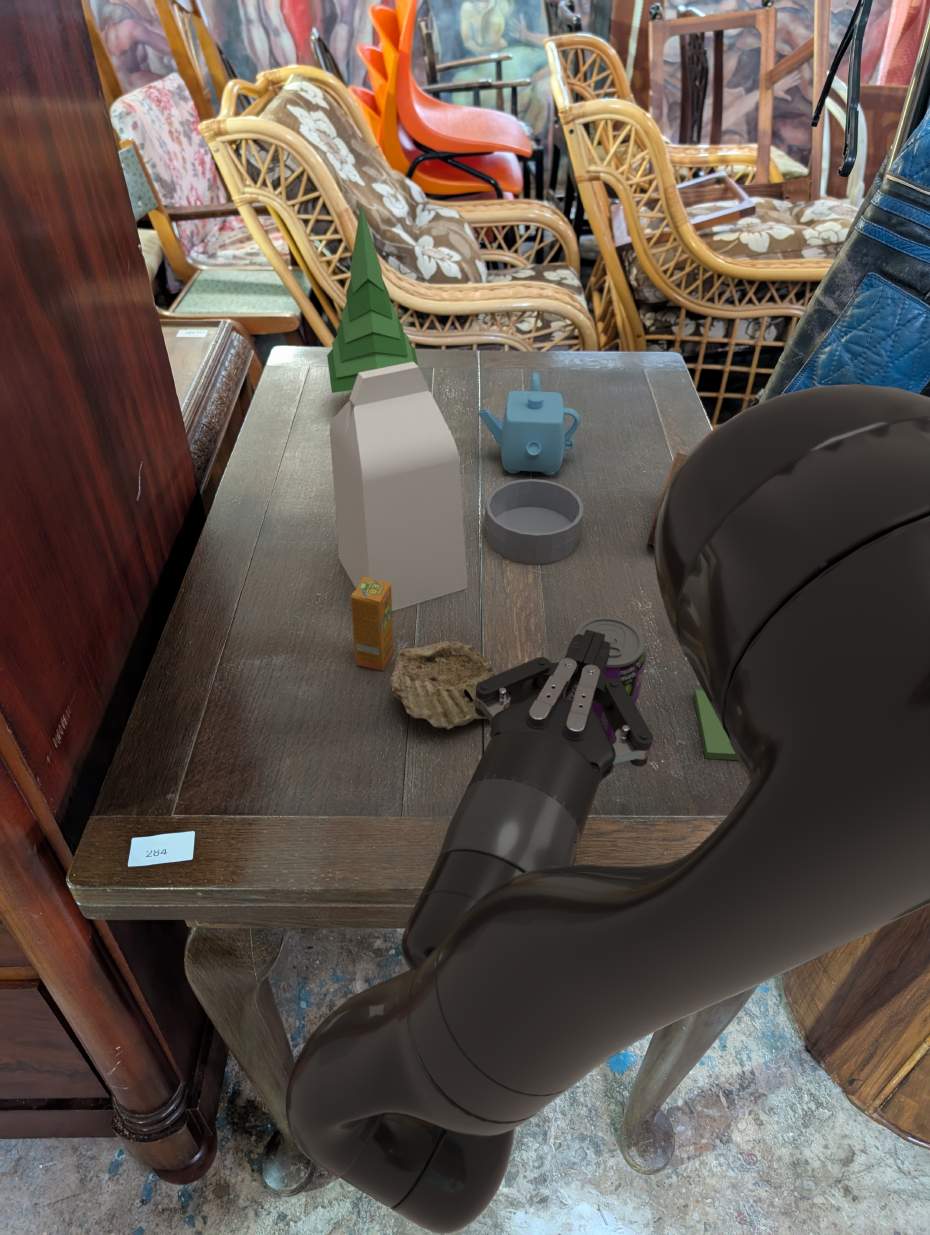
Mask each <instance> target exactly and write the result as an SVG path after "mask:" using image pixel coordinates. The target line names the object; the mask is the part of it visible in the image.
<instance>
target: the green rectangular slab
mask: <svg viewBox="0 0 930 1235" xmlns="http://www.w3.org/2000/svg"><path fill="white" fill-rule="evenodd" d="M693 701H694V706H695V712H696V717H697V722H698V727H699V733H700V738H701V743H702V749H703V753H704V759H706V760H707V759H708V760H724V761H727V760H728V761H739V759H738V758H737V756H736V754H735V752H734V750H733V748H732V746H731V744H730V741H729V738H728V736H727V734H726V732H725V731H724V729H723V727H722V725H721V723H720V721H719V719H718V717H717V715H716V713H715V712H714V710H713V708H712V706H711V704H710V702H709V700H708V698H707V696H706V694H705V692H704V690H703V689H695V690H694V693H693Z"/></svg>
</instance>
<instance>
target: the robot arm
mask: <svg viewBox="0 0 930 1235" xmlns="http://www.w3.org/2000/svg"><path fill="white" fill-rule="evenodd" d="M686 455H687V456H686V457H685V459H684V460H683V461H682V463H681V464H680V465H679V467H678V469H677V470H676V472H675V474H674V475H673V477H672V479H671V481H670V483H669V485H668V488H667V490H666V493H665V495H664V498H663V500H662V503H661V505H660V508H659V512H658V518H657V524H656V530H655V538H654V545H653V556H654V557H653V558H654V565H655V573H656V579H657V584H658V588H659V592H660V596H661V600H662V603H663V606H664V610H665V614H666V616H667V619H668V622H669V625H670V628H671V629H672V631H673V634H674V636H675V638H676V640H677V642H678V644H679V646H680V648H681V650H682V653H683V655H684V657H685V658H686V660H687V661H688V663H689V665H690V667H691V669H692V671H693V673H694V674H695V676H696V679H697V681H698V682H699V685H700V686H701V689H702V690H704V692H705V694H706V696H707V698H708V700H709V702H710V704H711V706H712V708H713V710H714V712H715V713H716V715H717V717H718V719H719V721H720V723H721V725H722V727H723V729H724V731H725V732H726V734H727V736H728V738H729V741H730V744H731V746H732V748H733V750H734V752H735V754H736V756H737V758H738V759H739V760H738V761H739V764H740V766H742V769H743V771H744V772H745V774H746V776H747V777H748V778H749V780H750V781H749V783H748V785H747V788H746V791H745V792H744V793H743V794H742V796H741V797H740V798H739V800H738V801H737V803H736V804H735V806H734V807H733V808H732V809H731V811H730V812H729V813H728V814H727V815H726V817H725V818H724V819H723V820H722V821H721V823H720V824H719V825H717V827H716V828H715V829H714V830H713V831H712V832H711V833H710V834H709V835H708V836H707V837H706V838H705V839H704V840H703V841H702V842H701V843H700V844H699V845H698V846H697V847H695V848H694V849H693V850H692V851H690V852H689V853H687V854H686V855H684V856H681V857H680V858H678V859H675V860H673V861H669V862H665V863H657V864H647V865H637V866H633V865H630V866H629V865H625V866H624V865H622V866H621V865H619V866H618V865H601V864H575V862H576V860H577V852H578V848H579V845H580V842H581V839H582V836H583V834H584V830H585V828H586V824H587V822H588V818H589V816H590V812H591V810H592V806H593V804H594V801H595V798H596V795H597V791H598V790H599V785H600V784H601V783H602V781H603V780H604V779H605V778H608V776H610V774H611V773H612V772H613V769H614V767H615V766H614V765H617V764H621V763H626V762H629V763H630V764H631V765H633V766H635V767H644V766H645V765H646V764H647V762H648V759H649V755H650V753H651V752H650V751H651V749H652V745H653V741H654V736H653V734H652V732H651V730H650V728H649V726H648V725H647V724H646V721H645V719H644V718H643V716H642V714H641V713H640V711H639V709H638V708H637V705H636V706H635V704H634V702H633V701H632V699H631V697H630V696H629V694H628V692H627V690H626V689H625V687H624V685H623V684H622V682H621V681H620V680H619V679H616V678H610V679H608V678H606V677H605V676H604V675H603V673H604V670H605V667H606V665H607V662H608V658H609V653H610V648H611V647H610V642H606V641H604V639H605V634H602V633H599V632H596V633H595V631H591V630H588V629H586V631H585V633H584V635H581V634H577V635H576V636H572V638H573V640H572V642H571V644H570V646H569V649H568V648H567V649H568V651H567V650H566V654H565V655H564V658H563V659H561V660H560V661H558V662H551V661H550V659H548V658H547V657H545V656H539V657H536V658H533V659H531V660H528V661H526V662H524V663H521V664H519V665H516V666H514V667H512V668H510V669H509V668H508V669H507V670H505V671H502V672H500V673H497V674H494V675H495V676H493V677H490V678H488V679H486V680H483V681H481V682H479V683H478V684H477V685H476V693H475V712H476V714H477V715H479V716H482V717H487V718H486V719H487V720H488V721H489V722H490V732H489V737H490V740H489V742H488V743H487V746H486V748H485V750H484V751H483V754H482V756H481V758H480V760H479V762H478V765H476V766H477V767H476V768H475V770H474V773H473V775H472V777H471V779H470V781H469V783H468V785H467V787H466V789H465V791H464V794H463V796H462V797H461V800H460V802H459V803H458V806H457V807H456V810H455V812H454V814H453V816H452V818H451V821H450V823H449V825H448V827H447V830H446V833H445V836H444V839H443V842H442V846H441V849H440V852H439V854H438V857H437V860H436V862H435V863H434V866H433V868H432V870H431V871H430V875H429V877H428V878H427V880H426V883H425V885H424V887H423V889H422V891H421V893H420V895H419V896H418V900H417V901H416V903H415V905H414V907H413V910H412V911H411V914H410V916H409V918H408V920H407V923H406V925H405V927H404V930H403V933H402V935H401V936H402V937H401V942H400V950H401V956H402V958H403V960H404V962H405V964H406V966H407V968H408V970H406V971H404V972H401V973H400V974H397V975H395V976H392V977H390V978H388V979H385V980H383V981H381V982H379V983H378V982H377V983H375V984H374V985H372V986H370V987H367V988H366V989H363V990H362V991H360V992H358V993H357V994H355V995H353V996H351V997H350V998H348V999H347V1000H346V1001H344V1002H342V1003H341V1004H340V1005H339V1006H338V1007H336V1008H335V1009H334V1010H332V1012H331V1013H330V1014H329V1015H327V1016H326V1018H324V1019H323V1021H322V1022H321V1023H320V1024H319V1025H318V1026H317V1028H316V1029H315V1030H314V1031H313V1032H312V1033H311V1035H310V1036H309V1038H308V1039H307V1040H306V1042H305V1044H304V1045H303V1046H302V1048H301V1050H300V1052H299V1053H298V1056H297V1057H296V1060H295V1062H294V1064H293V1067H292V1070H291V1072H290V1075H289V1078H288V1081H287V1087H286V1094H285V1115H286V1116H285V1117H286V1121H287V1126H288V1130H289V1132H290V1135H291V1137H292V1139H293V1141H294V1143H295V1145H296V1146H297V1148H298V1149H299V1151H301V1153H302V1154H303V1155H304V1156H305V1157H306V1158H308V1159H309V1160H310V1161H311V1162H312V1163H314V1164H315V1165H317V1166H318V1167H319V1168H321V1169H323V1170H325V1171H326V1172H328V1173H329V1174H332V1175H333V1176H335V1177H336V1178H337V1177H338V1178H339V1179H341V1180H343V1181H344V1182H346V1183H348V1184H349V1185H351V1186H352V1187H353V1188H355V1189H357V1190H359V1191H360V1192H362V1193H364V1194H365V1195H367V1196H369V1197H370V1198H372V1199H374V1200H375V1201H377V1202H379V1203H380V1204H382V1205H383V1206H385V1207H387V1208H390V1209H391V1210H392V1211H393V1212H395V1213H396V1214H398V1215H400V1216H402V1217H403V1218H405V1219H406V1220H408V1221H410V1222H412V1223H413V1224H416V1225H417V1226H418V1227H420V1228H421V1229H424V1230H426V1231H429V1232H432V1233H433V1234H434V1233H435V1234H440V1235H443V1234H445V1235H446V1234H452V1233H456V1232H458V1231H461V1230H463V1229H465V1228H466V1227H467V1226H469V1225H470V1224H472V1223H473V1222H474V1221H476V1220H477V1218H479V1216H480V1215H482V1213H484V1211H485V1210H486V1209H487V1208H488V1206H489V1205H490V1204H491V1203H492V1201H493V1199H494V1198H495V1196H496V1194H497V1193H498V1191H499V1189H500V1187H501V1185H502V1183H503V1180H504V1178H505V1175H506V1172H507V1169H508V1168H509V1167H508V1166H509V1164H510V1160H511V1155H512V1152H513V1146H514V1143H515V1142H514V1140H515V1135H516V1128H518V1127H520V1126H521V1125H523V1124H525V1123H526V1122H527V1121H529V1120H530V1119H532V1118H533V1117H534V1116H535V1115H537V1114H538V1113H540V1112H541V1111H542V1110H543V1109H545V1108H546V1107H548V1106H549V1105H550V1104H552V1103H553V1102H554V1101H555V1100H557V1099H558V1098H559V1097H560V1096H562V1095H563V1094H564V1093H566V1092H567V1091H568V1090H570V1089H571V1088H572V1087H573V1086H574V1085H575V1086H576V1084H578V1083H579V1082H580V1081H581V1080H583V1079H584V1078H585V1077H587V1076H588V1075H589V1074H591V1072H593V1071H594V1070H595V1069H597V1068H598V1067H600V1066H602V1064H604V1063H605V1062H607V1061H608V1060H610V1059H611V1058H613V1057H614V1056H616V1055H617V1054H619V1053H620V1052H621V1051H623V1050H624V1049H626V1048H629V1047H630V1046H633V1045H634V1044H636V1043H637V1042H639V1041H641V1040H642V1039H644V1038H646V1037H648V1036H649V1035H652V1034H654V1033H655V1032H658V1031H660V1030H662V1029H664V1028H667V1027H668V1026H669V1025H673V1024H674V1023H676V1022H679V1021H680V1020H683V1019H685V1018H687V1017H689V1016H692V1015H694V1014H696V1013H698V1012H700V1011H703V1010H705V1009H707V1008H709V1007H711V1006H713V1005H716V1004H718V1003H721V1002H723V1001H725V1000H728V999H731V998H733V997H736V996H737V995H739V994H742V993H744V992H746V991H749V990H751V989H753V988H756V987H757V986H760V985H762V984H765V983H766V982H768V981H772V980H774V979H775V978H777V977H780V976H782V975H783V974H786V973H788V972H791V971H792V970H795V969H797V968H799V967H801V966H804V965H806V964H809V963H810V962H812V961H814V960H817V959H818V958H819V959H820V958H821V957H823V956H826V955H827V954H830V953H831V952H834V951H836V950H837V949H839V948H841V947H843V946H845V945H848V944H849V943H852V942H853V941H856V940H858V939H860V938H861V937H864V936H866V935H869V934H870V933H872V932H874V931H876V930H879V929H881V928H883V927H885V926H887V925H889V924H891V923H893V922H896V921H897V920H900V919H902V918H905V917H906V916H908V915H910V914H912V913H914V912H916V911H919V910H921V909H923V908H925V907H927V906H929V905H930V396H926V395H923V394H920V393H916V392H913V391H909V390H906V389H904V388H900V387H895V386H894V387H893V386H883V385H875V384H863V383H848V384H847V383H846V384H833V385H822V386H821V385H819V386H813V387H809V388H805V389H800V390H796V391H792V392H788V393H784V394H779V395H776V396H774V397H772V398H769V399H767V400H764V401H762V402H759V403H757V404H754V405H753V406H750V407H747V408H745V409H743V410H741V411H740V412H738V413H736V414H735V415H733V416H732V417H730V418H729V419H728V420H726V421H724V422H723V423H721V424H720V425H718V426H716V427H714V428H713V429H712V430H711V431H710V432H709V433H708V434H707V435H706V436H705V437H704V438H702V440H701V441H699V442H698V444H696V445H695V446H694V447H693V448H692V449H691V450H689V452H688V453H687V454H686ZM576 682H578V683H579V684H578V686H577V689H576V693H575V696H574V699H573V700H568V698H569V696H570V694H571V692H572V690H573V687H574V685H575V683H576ZM594 700H595V701H596V702H598V703H599V704H601V709H602V711H603V712H604V714H605V716H606V718H607V720H608V722H609V724H610V725H611V727H612V729H613V731H614V733H615V737H614V741H613V743H614V744H612V743H611V741H610V738H609V736H608V734H607V732H606V730H605V728H604V726H603V724H602V722H601V720H600V718H599V716H598V714H597V713H596V712H595V711H594V710H593V709H592V708H593V704H594Z"/></svg>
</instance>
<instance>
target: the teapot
mask: <svg viewBox="0 0 930 1235" xmlns="http://www.w3.org/2000/svg"><path fill="white" fill-rule="evenodd" d="M529 388H530V389H529V390H511V391H509V393H508V395H507V400H506V404H505V409H504V414H503V418H502V420H500V419H499V418H498V417H497V416H496V415H494V413H493V412H491V410H489V409H488V407H486V408H481V409H477V410H478V412H477V414H478V416H479V417H480V419H481V420H482V422H483V424H484V426H486V428H487V429H488V431H489V432H490V434H491V435H492V437H493V438H494V439H495V441H496V443H497V445H499V446H500V457H501V458H500V459H501V463H502V467H503V469H504V470H505V471H507V472H508V473H510V474H518V473H520V472H521V471H522V472H541V474H543V475H546V476H552V475H554V474H556V473H557V472H559V471H560V469H561V467H562V464H563V460H564V454H565V451H571V450H572V449H574V447H575V445H576V442H575V441H576V440H575V439H574V437H573V438H572V436H573V435H574V434H575V433H576V431H577V429H578V428H579V425H580V423H581V422H580V421H581V418H580V415H579V414H578V412H577V411H576V410H575V409H573V408H570V407H564V399H563V395H562V394H561V393H560V392H555V391H554V392H553V391H542V389H541V375H540V373H539V372H536V371H535V372H534V373H533V374H532V377H531V384H530V387H529ZM565 415H568V416H570V417H572V418H573V419H574V420H573V423H572V425H571V427H570V428H569V429H568V430H567V432H566V419H565ZM567 442H569V443H568V444H567Z"/></svg>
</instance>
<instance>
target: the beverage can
mask: <svg viewBox="0 0 930 1235" xmlns="http://www.w3.org/2000/svg"><path fill="white" fill-rule="evenodd" d="M586 629H588V630H591V631H595V633H596V632H599V633H602V634H605V639H604V641H606V642H610V647H611V648H610V653H609V658H608V662H607V665H606V667H605V670H604V673H603V675H604V676H605V677H606V678H608V679H610V678H616V679H619V680H620V681H621V682H622V684H623V685H624V687H625V689H626V690H627V692H628V694H629V696H630V697H631V699H632V701H633V702H634V704H635V706H636V707H637V704H638V701H639V695H640V691H641V687H642V682H643V677H644V674H645V669H646V664H647V654H646V651H645V639H644V636H643V634H642V633H641V632H640V630H639V629H638V628H637V627H636V626H635V625H633V624H632V623H630V622H628V621H627V620H624V619H622V618H619V617H616V616H605V615H604V616H595V617H591V618H589V619H586V620H584V621H582V622H581V623H580V624H579V625H578V626H577V627H576V629H575V632H574V636H576V635H577V634H581V635H584V633H585V631H586ZM574 636H573V637H574ZM573 637H572V638H571V639H570V641H569V643H568V645H567V649H566V652H567V651H568V649H569V646H570V644H571V642H572V640H573ZM578 684H579V683H578V682H576V683H575V685H574V687H573V690H572V692H571V694H570V696H569V698H568V700H573V699H574V696H575V693H576V689H577V686H578ZM592 709H593V710H594V711H595V712H596V713H597V714H598V716H599V718H600V720H601V722H602V724H603V726H604V728H605V730H606V732H607V734H608V736H609V738H610V741H611V743H612V744H614V743H613V741H614V737H615V733H614V731H613V729H612V727H611V725H610V724H609V722H608V720H607V718H606V716H605V714H604V712H603V711H602V709H601V704H599V703H598V702H596V701H595V700H594V704H593V708H592Z"/></svg>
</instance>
